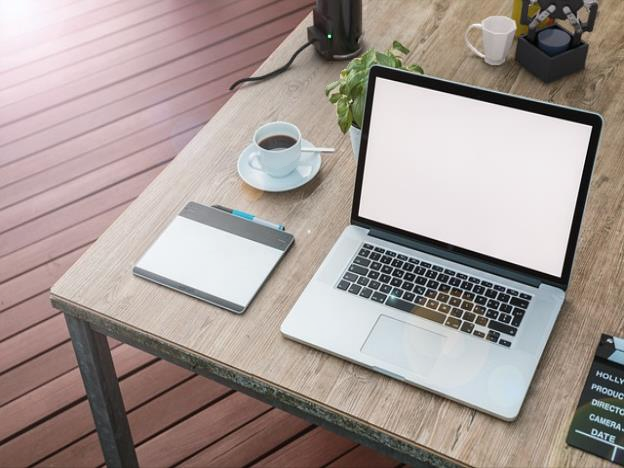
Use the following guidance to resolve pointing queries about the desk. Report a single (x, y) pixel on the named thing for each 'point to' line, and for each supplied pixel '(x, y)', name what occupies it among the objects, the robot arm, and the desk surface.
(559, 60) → the tub
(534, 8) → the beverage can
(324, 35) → the robot arm
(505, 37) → the cup
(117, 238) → the desk surface
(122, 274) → the desk surface
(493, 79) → the desk surface
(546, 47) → the dark blue short cylinder
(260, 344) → the desk surface
